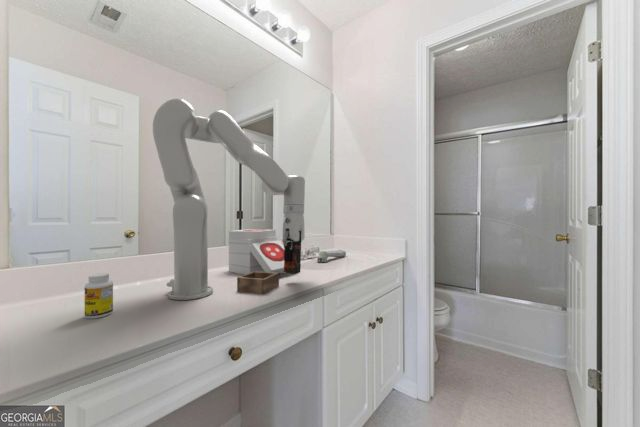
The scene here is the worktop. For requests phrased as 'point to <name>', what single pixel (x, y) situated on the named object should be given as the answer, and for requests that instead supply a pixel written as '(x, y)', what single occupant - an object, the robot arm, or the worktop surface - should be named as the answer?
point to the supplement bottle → (98, 296)
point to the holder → (257, 282)
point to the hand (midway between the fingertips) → (292, 259)
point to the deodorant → (294, 258)
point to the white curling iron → (329, 255)
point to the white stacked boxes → (255, 251)
